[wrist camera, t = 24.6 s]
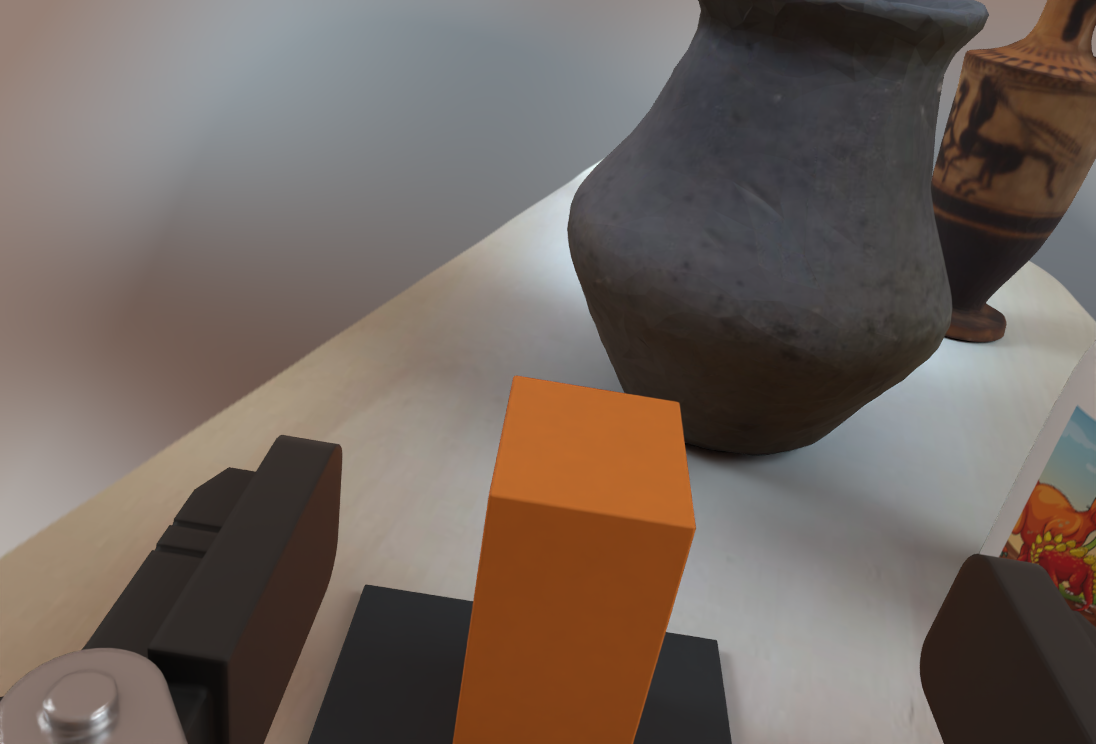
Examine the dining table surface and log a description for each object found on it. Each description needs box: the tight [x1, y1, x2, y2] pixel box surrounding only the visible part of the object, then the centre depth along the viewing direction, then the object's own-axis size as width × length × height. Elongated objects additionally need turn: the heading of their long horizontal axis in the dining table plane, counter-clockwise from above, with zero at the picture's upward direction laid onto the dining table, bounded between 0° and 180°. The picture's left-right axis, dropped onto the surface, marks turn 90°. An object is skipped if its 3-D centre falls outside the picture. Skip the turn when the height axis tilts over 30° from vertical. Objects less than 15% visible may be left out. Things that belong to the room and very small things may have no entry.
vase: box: [931, 0, 1096, 342], centre depth 63 cm, size 11×11×30 cm
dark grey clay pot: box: [567, 0, 989, 455], centre depth 47 cm, size 21×22×25 cm
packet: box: [453, 376, 696, 744], centre depth 26 cm, size 5×6×12 cm
